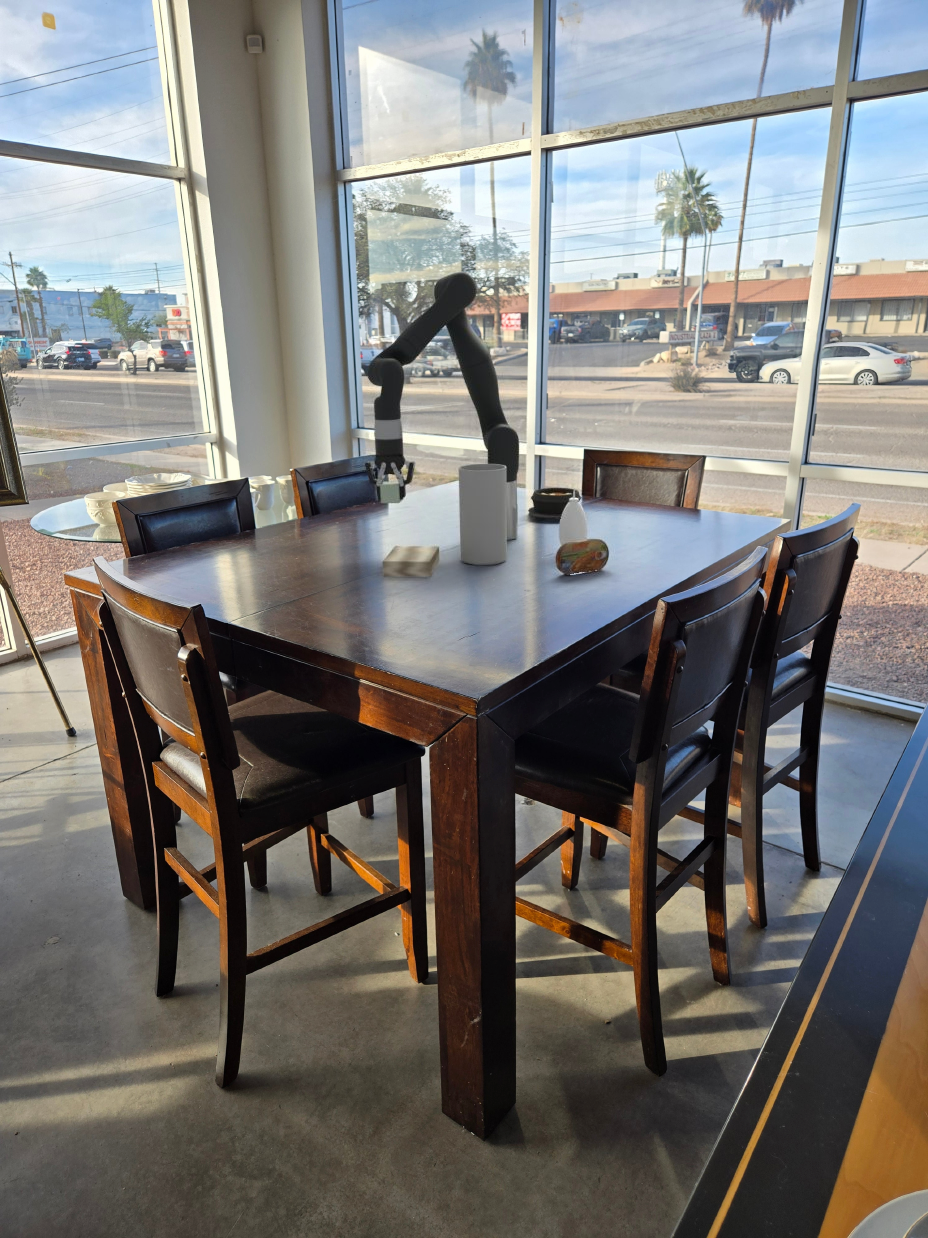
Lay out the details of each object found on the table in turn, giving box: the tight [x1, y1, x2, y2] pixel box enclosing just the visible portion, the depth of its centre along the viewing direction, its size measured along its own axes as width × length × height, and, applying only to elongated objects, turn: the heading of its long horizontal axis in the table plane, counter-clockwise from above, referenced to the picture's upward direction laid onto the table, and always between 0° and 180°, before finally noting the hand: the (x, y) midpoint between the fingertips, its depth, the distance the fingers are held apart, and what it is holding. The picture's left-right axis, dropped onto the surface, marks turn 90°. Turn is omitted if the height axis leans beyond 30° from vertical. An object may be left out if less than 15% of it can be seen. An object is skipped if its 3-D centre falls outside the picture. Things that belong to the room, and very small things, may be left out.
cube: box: [380, 481, 403, 504], centre depth 219 cm, size 5×5×5 cm
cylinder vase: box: [458, 463, 508, 566], centre depth 211 cm, size 12×12×25 cm
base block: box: [382, 545, 440, 578], centre depth 208 cm, size 12×16×4 cm
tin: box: [555, 538, 610, 576], centre depth 201 cm, size 15×3×8 cm, turn 117°
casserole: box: [527, 487, 582, 519], centre depth 267 cm, size 25×19×8 cm
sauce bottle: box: [558, 488, 589, 546], centre depth 217 cm, size 8×8×18 cm
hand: (391, 498), depth 220 cm, fingers closed on cube, 5 cm apart
